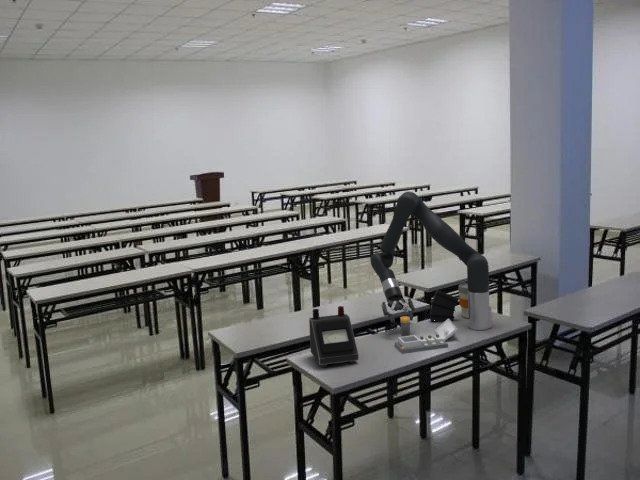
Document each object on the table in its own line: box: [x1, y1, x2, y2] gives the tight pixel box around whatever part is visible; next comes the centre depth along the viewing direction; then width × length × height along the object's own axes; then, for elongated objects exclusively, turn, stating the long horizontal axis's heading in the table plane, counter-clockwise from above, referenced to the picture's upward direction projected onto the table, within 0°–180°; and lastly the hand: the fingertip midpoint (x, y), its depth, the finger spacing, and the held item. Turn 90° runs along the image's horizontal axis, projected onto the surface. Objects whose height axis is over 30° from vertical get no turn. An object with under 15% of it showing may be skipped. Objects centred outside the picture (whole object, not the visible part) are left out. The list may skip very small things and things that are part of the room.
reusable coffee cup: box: [457, 282, 469, 319], centre depth 284 cm, size 13×13×15 cm
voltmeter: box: [308, 305, 360, 368], centre depth 239 cm, size 16×16×20 cm
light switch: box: [434, 318, 458, 342], centre depth 259 cm, size 8×5×14 cm
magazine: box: [428, 289, 459, 323], centre depth 280 cm, size 4×13×15 cm, turn 88°
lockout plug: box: [399, 315, 411, 337], centre depth 258 cm, size 4×4×10 cm
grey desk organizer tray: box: [394, 333, 449, 354], centre depth 249 cm, size 20×10×4 cm, turn 100°
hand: (402, 321), depth 260 cm, fingers open, 8 cm apart
